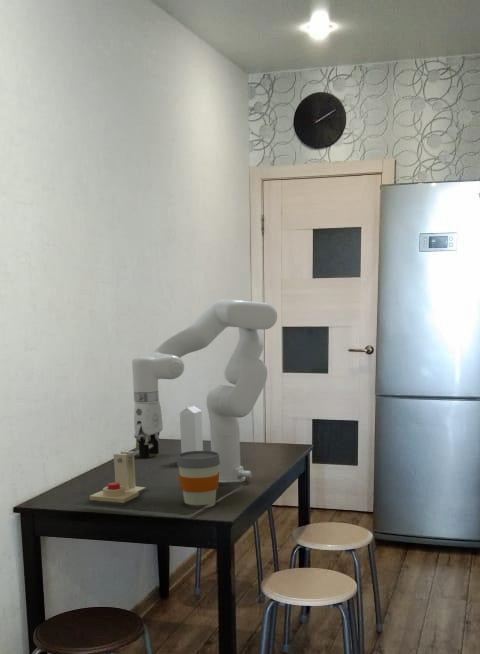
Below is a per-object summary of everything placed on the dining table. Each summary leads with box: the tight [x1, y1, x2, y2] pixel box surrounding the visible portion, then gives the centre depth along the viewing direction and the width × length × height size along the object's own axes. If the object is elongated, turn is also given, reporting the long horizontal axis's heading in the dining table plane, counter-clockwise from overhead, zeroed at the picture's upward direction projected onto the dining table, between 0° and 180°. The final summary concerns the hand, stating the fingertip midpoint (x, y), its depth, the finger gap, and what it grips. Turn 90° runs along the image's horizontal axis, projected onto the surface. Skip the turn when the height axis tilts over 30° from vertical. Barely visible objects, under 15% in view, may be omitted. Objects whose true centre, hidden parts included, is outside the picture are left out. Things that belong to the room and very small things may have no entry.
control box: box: [89, 486, 140, 504], centre depth 258 cm, size 12×9×4 cm
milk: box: [179, 401, 204, 454], centre depth 309 cm, size 6×6×22 cm
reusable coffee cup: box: [176, 450, 220, 509], centre depth 250 cm, size 13×13×15 cm
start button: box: [107, 481, 120, 490], centre depth 258 cm, size 4×4×2 cm
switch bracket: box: [113, 450, 147, 492], centre depth 267 cm, size 10×8×13 cm
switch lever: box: [126, 443, 155, 461], centre depth 264 cm, size 12×5×2 cm, turn 67°
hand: (149, 454), depth 263 cm, fingers closed on switch lever, 5 cm apart
